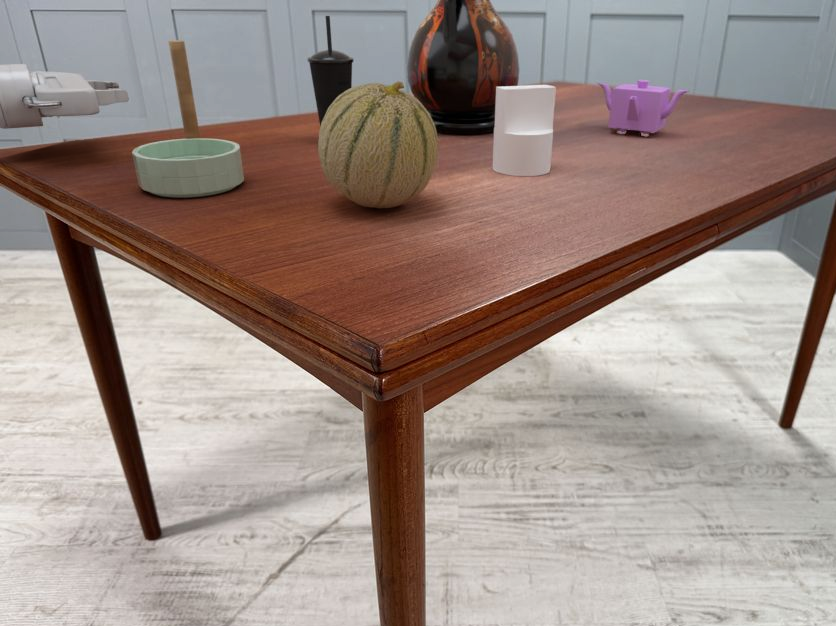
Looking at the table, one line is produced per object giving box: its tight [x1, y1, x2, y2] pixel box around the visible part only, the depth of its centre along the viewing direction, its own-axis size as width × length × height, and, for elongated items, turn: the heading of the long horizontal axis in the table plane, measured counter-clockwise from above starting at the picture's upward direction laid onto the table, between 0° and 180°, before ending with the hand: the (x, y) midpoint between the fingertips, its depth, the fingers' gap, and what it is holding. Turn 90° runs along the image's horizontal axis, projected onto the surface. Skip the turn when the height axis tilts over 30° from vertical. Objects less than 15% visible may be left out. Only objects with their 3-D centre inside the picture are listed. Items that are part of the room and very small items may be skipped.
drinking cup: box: [306, 15, 355, 127], centre depth 114 cm, size 8×8×20 cm
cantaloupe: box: [317, 80, 439, 209], centre depth 82 cm, size 15×15×15 cm
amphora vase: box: [406, 0, 520, 135], centre depth 126 cm, size 22×22×28 cm
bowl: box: [131, 137, 245, 198], centre depth 90 cm, size 13×13×5 cm
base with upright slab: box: [492, 84, 557, 177], centre depth 101 cm, size 9×9×12 cm
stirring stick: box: [167, 39, 201, 139], centre depth 111 cm, size 2×2×16 cm
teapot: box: [596, 79, 690, 134], centre depth 129 cm, size 18×13×10 cm
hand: (122, 91), depth 106 cm, fingers open, 8 cm apart
